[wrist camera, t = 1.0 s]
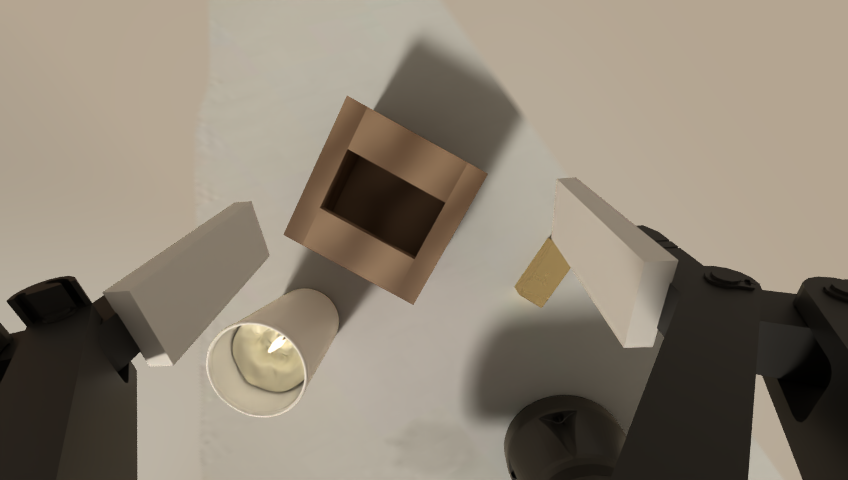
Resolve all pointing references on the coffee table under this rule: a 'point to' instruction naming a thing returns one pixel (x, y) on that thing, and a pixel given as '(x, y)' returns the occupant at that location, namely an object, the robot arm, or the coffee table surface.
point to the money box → (383, 201)
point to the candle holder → (272, 353)
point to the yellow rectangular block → (543, 274)
